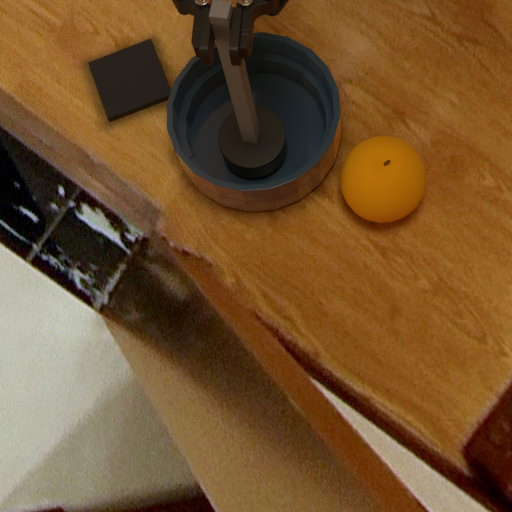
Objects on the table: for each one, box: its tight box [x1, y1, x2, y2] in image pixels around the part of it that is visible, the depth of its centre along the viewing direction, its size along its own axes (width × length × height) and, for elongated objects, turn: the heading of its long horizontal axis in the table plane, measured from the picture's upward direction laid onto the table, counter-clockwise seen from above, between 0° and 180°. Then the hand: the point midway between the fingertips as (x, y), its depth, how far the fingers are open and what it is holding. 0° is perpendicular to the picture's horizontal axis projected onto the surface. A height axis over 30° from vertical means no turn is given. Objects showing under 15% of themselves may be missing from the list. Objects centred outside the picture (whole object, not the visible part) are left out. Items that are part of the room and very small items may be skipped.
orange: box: [339, 135, 427, 224], centre depth 79 cm, size 8×8×8 cm
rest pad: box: [87, 38, 172, 123], centre depth 88 cm, size 7×7×1 cm
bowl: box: [166, 31, 342, 212], centre depth 83 cm, size 16×16×6 cm
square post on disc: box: [209, 0, 287, 178], centre depth 72 cm, size 6×6×24 cm
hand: (220, 59), depth 62 cm, fingers closed on square post on disc, 1 cm apart
